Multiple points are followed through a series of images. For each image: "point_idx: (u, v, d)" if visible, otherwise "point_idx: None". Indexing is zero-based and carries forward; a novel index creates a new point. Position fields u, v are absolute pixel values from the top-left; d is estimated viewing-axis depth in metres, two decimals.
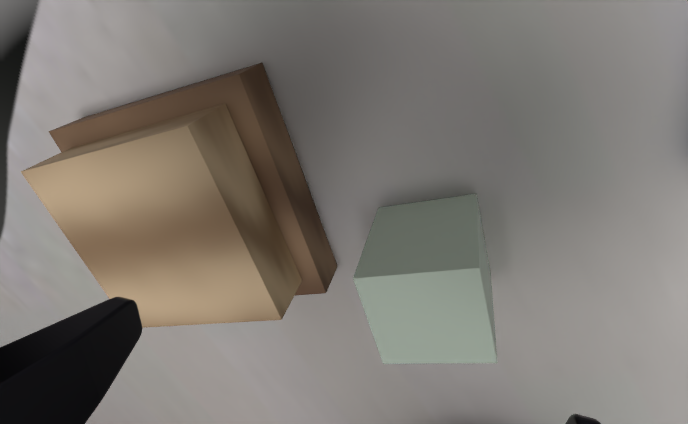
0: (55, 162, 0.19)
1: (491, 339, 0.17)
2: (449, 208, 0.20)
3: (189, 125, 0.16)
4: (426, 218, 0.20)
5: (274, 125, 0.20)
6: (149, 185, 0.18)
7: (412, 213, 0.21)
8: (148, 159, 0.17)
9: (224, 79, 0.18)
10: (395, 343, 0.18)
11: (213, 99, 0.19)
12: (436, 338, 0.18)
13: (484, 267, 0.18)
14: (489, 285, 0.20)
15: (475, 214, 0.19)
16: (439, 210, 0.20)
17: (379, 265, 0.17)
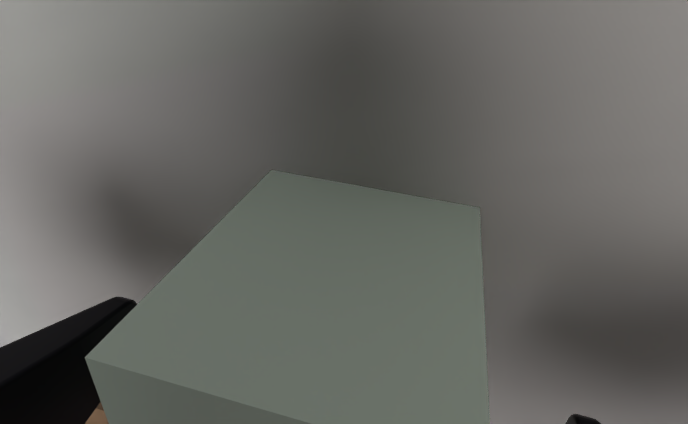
0: None
1: None
2: None
3: None
4: None
5: None
6: None
7: None
8: None
9: None
10: None
11: None
12: None
13: (292, 271, 0.07)
14: (411, 257, 0.08)
15: (233, 211, 0.09)
16: None
17: None
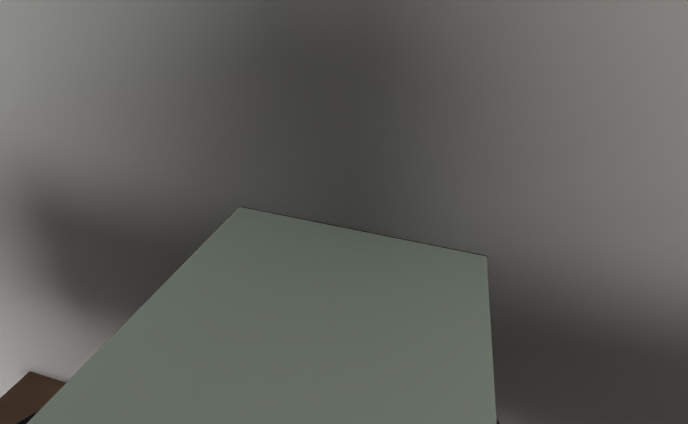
0: None
1: None
2: None
3: None
4: None
5: None
6: None
7: None
8: None
9: None
10: None
11: None
12: None
13: (244, 362, 0.05)
14: (401, 336, 0.06)
15: (183, 267, 0.07)
16: None
17: None
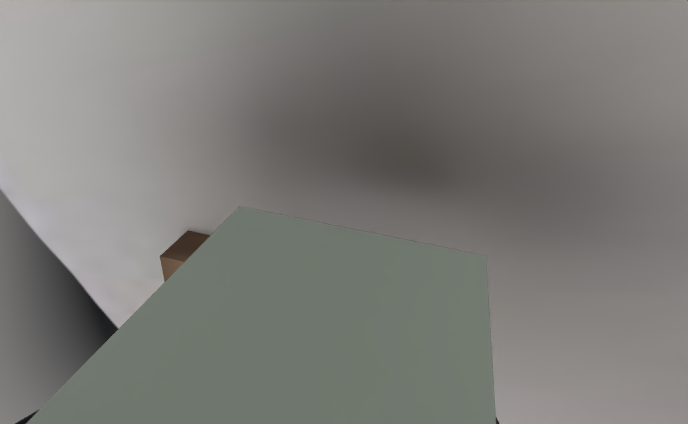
0: None
1: None
2: None
3: None
4: None
5: None
6: None
7: None
8: None
9: (163, 268, 0.21)
10: None
11: None
12: None
13: (245, 361, 0.05)
14: (401, 335, 0.06)
15: (184, 266, 0.07)
16: None
17: None
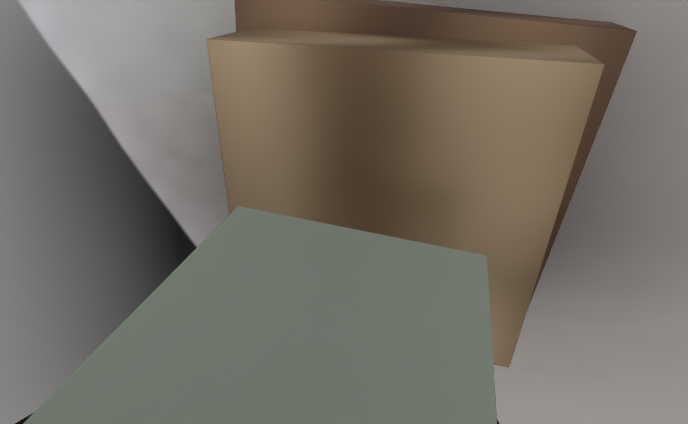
0: None
1: None
2: None
3: (210, 39, 0.12)
4: None
5: None
6: (280, 157, 0.13)
7: None
8: (244, 132, 0.13)
9: (237, 18, 0.14)
10: None
11: None
12: None
13: (243, 362, 0.05)
14: (401, 336, 0.06)
15: (182, 267, 0.07)
16: None
17: None
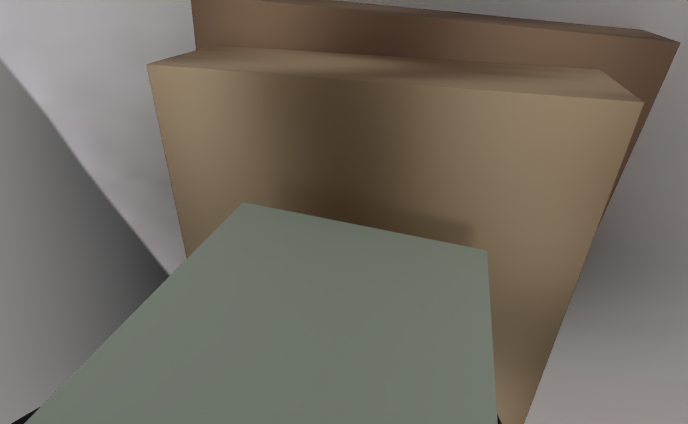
0: None
1: None
2: None
3: (151, 64, 0.10)
4: None
5: (304, 0, 0.12)
6: None
7: None
8: (198, 174, 0.11)
9: (195, 25, 0.12)
10: None
11: None
12: None
13: (250, 351, 0.06)
14: (403, 327, 0.06)
15: (189, 261, 0.07)
16: None
17: None
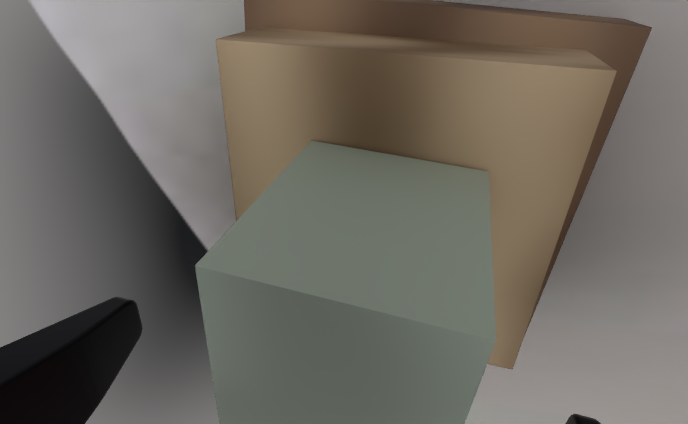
0: None
1: (404, 320, 0.07)
2: None
3: (219, 39, 0.12)
4: None
5: None
6: (287, 158, 0.13)
7: None
8: (252, 133, 0.13)
9: (246, 13, 0.14)
10: None
11: None
12: (379, 403, 0.08)
13: (338, 214, 0.09)
14: (432, 207, 0.09)
15: (284, 172, 0.10)
16: None
17: None
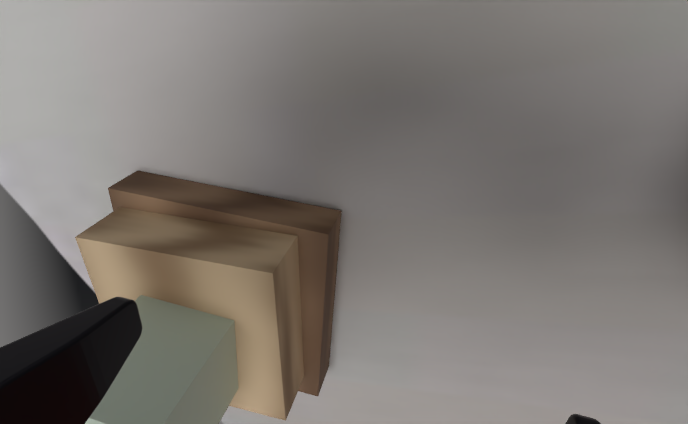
0: None
1: None
2: None
3: (78, 236, 0.20)
4: None
5: (171, 186, 0.22)
6: (127, 297, 0.21)
7: None
8: (105, 283, 0.21)
9: (112, 201, 0.22)
10: None
11: None
12: None
13: None
14: (179, 353, 0.18)
15: None
16: None
17: None
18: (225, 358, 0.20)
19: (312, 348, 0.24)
